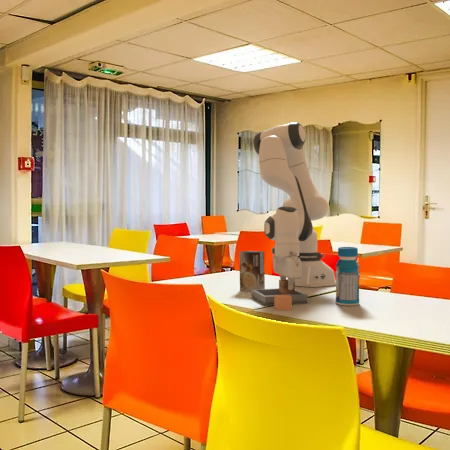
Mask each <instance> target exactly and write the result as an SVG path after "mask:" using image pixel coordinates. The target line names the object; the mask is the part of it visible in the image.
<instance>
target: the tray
mask: <svg viewBox="0 0 450 450" xmlns="http://www.w3.org/2000/svg"><path fill="white" fill-rule="evenodd" d="M274 295H289V296H291V297H292V305H299V304H308V300H309V296H308V294H307V293H305V292H302V291H300V290H298V289H295V293H292V294H282V293H280V292H279V287H278V288H265V289H257V290H252V292H251V299H253V300H254V301H257V302H258V303H260V304H262V305H263V306H274Z"/></svg>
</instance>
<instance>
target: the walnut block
mask: <svg viewBox="0 0 450 450" xmlns="http://www.w3.org/2000/svg"><path fill="white" fill-rule="evenodd" d="M287 285H288V278H286V280H281V279H279V281H278V288H279V292H280V293H282V294H292V293H295V290H296V286H295V281H294V284H293V289H292V290H288V289H287Z"/></svg>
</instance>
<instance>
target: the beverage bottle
mask: <svg viewBox="0 0 450 450" xmlns="http://www.w3.org/2000/svg"><path fill="white" fill-rule="evenodd" d="M358 253H359V252H358V247H356V246H355V247H354V246H339V247H338V249H337V257H339V259H338V260H337V262H336V265H335V268H336V271H335V273H334V275H335V280H336V285H335V286H336V288H335V304H337V305H339V306H345V307H347V306H348V307H352V306H353V307H354V306H358V305H359V304H360V277H361V273H360V263H359V261H358V260H357V257H358Z"/></svg>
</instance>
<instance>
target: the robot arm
mask: <svg viewBox="0 0 450 450" xmlns="http://www.w3.org/2000/svg"><path fill="white" fill-rule="evenodd" d="M254 135H255V136H254V137H253V139H252V140H253V142H252V145H253V148H254V151H255V152H256V154H257V155H258V163H259V164H258V165H259V172H260V177H261V179H262V180H263V181H264V182H265V183H266V184H267V185H269V186H271V187H272V188H276V189H279V190H281V191H283V192H284V193H285V194H287V195H288V196H289V197H287V198H285V200H284V201H283V203H282V206H279V207H277V208H276V212H275V213H274V214H272V215H270V216H268V218H267V219H266V220H265V221H264V223H263V224H264V226H263V228H264V229H263V230H264V235H265V236H266V238H268V239H269V240H271V241H275V242H274V246H273V247H272V248H271V254H272V264H273V265H272V267H273V268H272V269H273V272H274V273H275V274H278V275H279V280H287V279H288V285H287V289H288V290H292V289H293V284H294V281H295V287H296V286H297V287H309V288H319V287H330V286H331V287H332V286H336V275H335V271H334V269H332V267H330V266H329V265H328V264H326V262H324V261H323V260H322V259H325V257H326V253H323V252H318V233H317V231H316V230H315V229H314V227H313V223H312V221H317V220H321V219H323V218H325V217H326V216H327V214H328V213H329V212H328V211H329V203H328V201H327V200H326V198H325V197H323V196H322V195H321V194H320V192H319V191H318V189H317V188H316V186H315V185H314V183H313V181H312V178H311V175H310V171H309V168H308V165H307V161H306V156H305V155H304V152H303V149H302V147H303V146H304V145H305V142H306V130H305V129H304V127H303V125H302V124H301V123H299V122H297V121H296V122H290V123H286V124H280V125H275V126H274V127H271V128H267V129H266V130H262V131H260V132H258V133H255V134H254Z"/></svg>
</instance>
